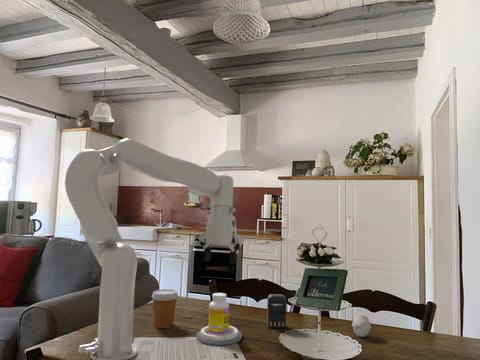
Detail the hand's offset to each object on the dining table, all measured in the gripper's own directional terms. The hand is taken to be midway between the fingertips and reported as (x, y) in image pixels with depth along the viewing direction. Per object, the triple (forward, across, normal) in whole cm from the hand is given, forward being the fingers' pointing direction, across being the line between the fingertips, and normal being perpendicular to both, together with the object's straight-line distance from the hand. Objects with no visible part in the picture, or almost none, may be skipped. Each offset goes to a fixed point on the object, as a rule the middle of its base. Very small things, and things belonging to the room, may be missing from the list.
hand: (219, 262), depth 120 cm
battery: (+24, -14, -20) cm, 34 cm away
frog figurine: (+24, -42, -25) cm, 55 cm away
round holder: (+24, 0, -1) cm, 24 cm away
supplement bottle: (+24, 0, 0) cm, 24 cm away
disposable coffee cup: (+25, +23, -2) cm, 34 cm away
